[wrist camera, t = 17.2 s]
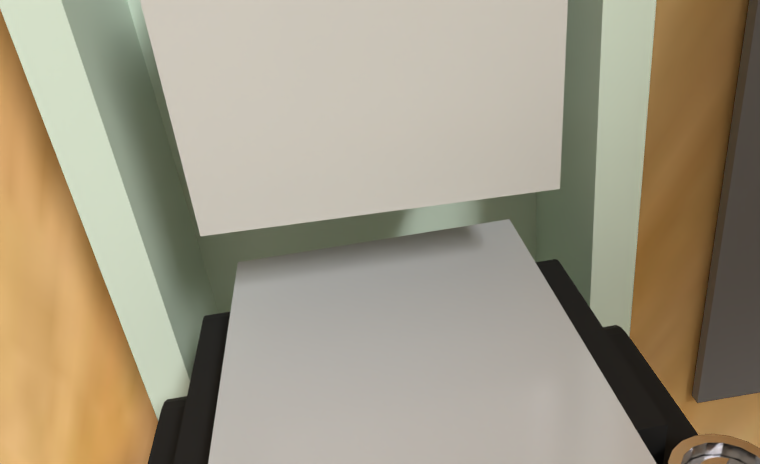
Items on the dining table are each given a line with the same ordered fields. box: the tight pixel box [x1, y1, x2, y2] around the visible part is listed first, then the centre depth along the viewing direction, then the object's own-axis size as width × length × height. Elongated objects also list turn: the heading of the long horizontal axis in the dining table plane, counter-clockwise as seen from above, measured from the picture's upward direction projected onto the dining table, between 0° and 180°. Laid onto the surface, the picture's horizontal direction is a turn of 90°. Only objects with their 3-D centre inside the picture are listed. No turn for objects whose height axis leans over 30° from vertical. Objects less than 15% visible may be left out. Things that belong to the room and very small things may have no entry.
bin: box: [0, 0, 656, 421], centre depth 12 cm, size 9×15×4 cm, turn 7°
